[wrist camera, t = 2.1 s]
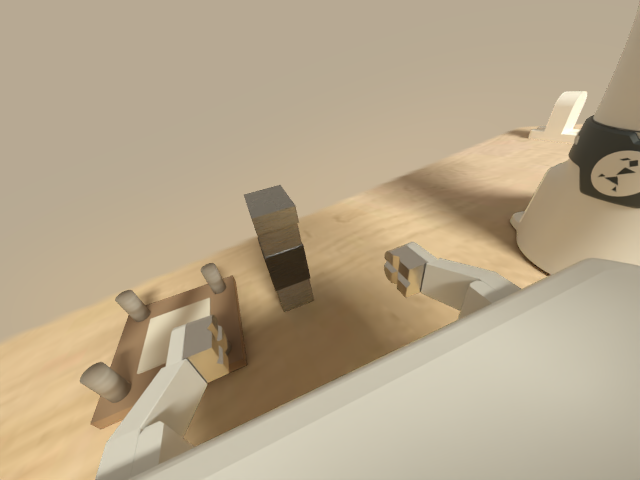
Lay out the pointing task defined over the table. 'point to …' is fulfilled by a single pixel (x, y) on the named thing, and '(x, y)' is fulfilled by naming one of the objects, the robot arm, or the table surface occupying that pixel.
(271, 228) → the grey rectangular block
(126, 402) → the peg cradle
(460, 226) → the table surface
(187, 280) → the table surface
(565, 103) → the cable organizer
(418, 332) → the table surface
